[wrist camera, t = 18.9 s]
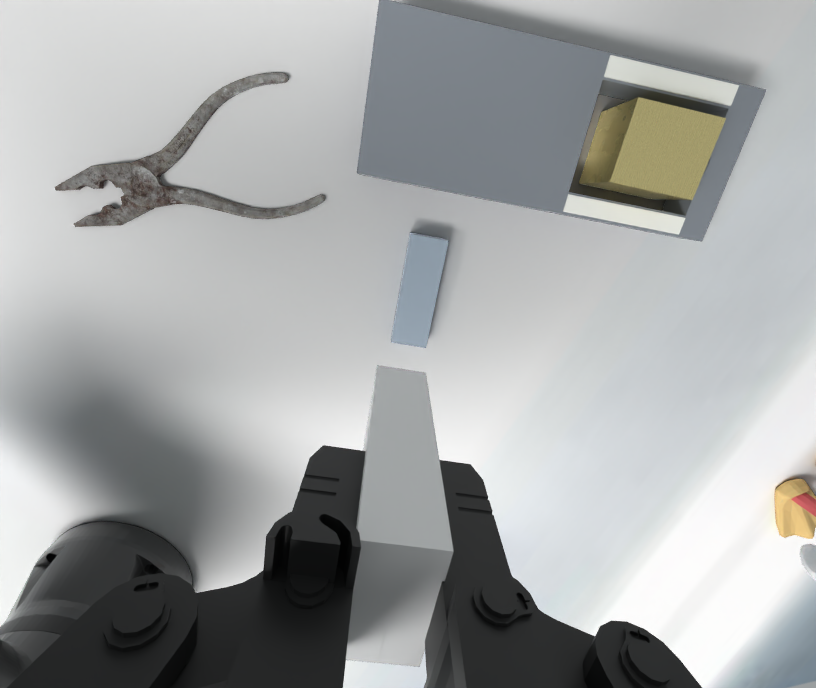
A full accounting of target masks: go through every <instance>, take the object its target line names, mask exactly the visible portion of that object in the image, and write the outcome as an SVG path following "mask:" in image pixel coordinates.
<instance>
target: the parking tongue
mask: <svg viewBox="0 0 816 688" xmlns="http://www.w3.org/2000/svg"><path fill="white" fill-rule="evenodd" d="M448 242H449V241H448V240H447V239H444V238H438V237H433V236H428V235H422V234H417V233H412V232H410V236H409V241H408V247H407V253H406V258H405V264H404V269H403V275H402V280H401V286H400V291H399V297H398V303H397V308H396V314H395V319H394V325H393V330H392V336H391V342H393V343H399V344H405V345H411V346H417V347H423V348H426V345H427V341H428V336H429V331H430V327H431V322H432V317H433V313H434V308H435V303H436V299H437V294H438V289H439V285H440V280H441V275H442V271H443V266H444V261H445V257H446V252H447V247H448Z"/></svg>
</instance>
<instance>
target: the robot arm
mask: <svg viewBox="0 0 816 688" xmlns="http://www.w3.org/2000/svg"><path fill="white" fill-rule="evenodd" d="M424 651H425V654H426V670H427V680H426V683H425V686H424V688H702V687H701V686H700V685H699V683H698V682H697V681H696V680H695V678H694V677H693V676H692V675H691V673H690V672H689V671H688V670H687V668H686V667H685V666H684V665H683V663H682V662H681V661H680V660H679V658H678V657H677V656H676V655H675V654H674V653H673V652H672V651H671V650H670V649H669V648H668V647H667V646H666V645H665V644H664V643H663V642H662V641H660V640H659V639H658V638H656V637H655V636H653V635H652V634H651V633H649V632H648V631H646V630H645V629H643V628H640V627H638V626H636V625H633V624H631V623H628V622H622V621H610V622H608V623H606V624H604V625H602V626H600V628H599V630H598V632H597V634H596V636H592V635H590V634H588V633H585V632H583V631H581V630H578V629H576V628H574V627H571V626H569V625H567V624H564V623H562V622H560V621H557V620H555V619H553V618H552V617H550V616H548V615H546V614H544V613H543V612H541V611H540V610H539V609H538V608H537V606H536V604H535V602H534V600H533V598H532V596H531V595H530V593H529V592H528V591H527V590H526V589H525V588H524V587H523V586H522V584H521V583H520V582H519V581H518V580H516V579H515V578H513V577H512V575H511V573H510V569H509V566H508V563H507V559H506V556H505V553H504V549H503V546H502V542H501V539H500V536H499V532H498V529H497V526H496V522H495V519H494V516H493V515H492V509H491V505H490V502H489V500H488V495H487V492H486V489H485V485H484V482H483V479H482V478H481V477H480V476H479V474H478V473H477V472H476V471H475V470H474V468H473V467H472V466H471V465H470V464H464V463H457V462H450V461H442V460H439V455H438V448H437V442H436V436H435V429H434V423H433V416H432V410H431V404H430V397H429V391H428V384H427V378H426V373H424V372H417V371H411V370H405V369H398V368H392V367H386V366H379V365H377V369H376V375H375V381H374V387H373V393H372V399H371V405H370V410H369V416H368V422H367V428H366V434H365V440H364V447H363V451H360V450H353V449H346V448H338V447H331V446H324V445H323V446H322V447H321V448H320V449H319V450H318V451H317V452H316V453H315V454H314V455H312V456H311V457H310V459H309V462H308V465H307V468H306V471H305V474H304V477H303V480H302V483H301V486H300V491H299V492H298V495H297V498H296V501H295V505H294V508H293V511H292V512H290V513H288V514H287V515H285V516H284V517H282V518H281V519H280V520H278V521H277V522H275V524H274V525H273V527H272V528H271V530H270V531H269V533H268V534H267V536H266V546H265V559H264V570H263V571H262V572H261V573H259V574H258V575H257V576H255V577H253V578H251V579H249V580H247V581H245V582H243V583H240V584H237V585H233V586H230V587H226V588H221V589H215V590H210V591H205V592H200V593H195V591H194V589H193V587H192V575H191V572H190V569H189V567H188V565H187V563H186V561H185V560H184V558H183V557H182V556H181V554H180V553H179V552H178V551H177V550H176V549H175V548H174V547H173V546H172V545H171V544H169V543H168V542H167V541H165V540H164V539H162V538H161V537H159V536H157V535H155V534H153V533H151V532H149V531H147V530H145V529H142V528H139V527H136V526H132V525H129V524H124V523H117V522H94V523H88V524H83V525H80V526H77V527H74V528H72V529H70V530H68V531H67V532H65V533H64V534H62V535H61V536H60V537H59V538H58V539H57V540H56V541H55V542H54V543H53V544H52V545H51V546H50V547H49V548H48V549H47V550H46V551H45V552H44V553H43V554H42V556H41V557H40V558H39V560H38V561H37V563H36V564H35V566H34V568H33V570H32V572H31V574H30V576H29V578H28V580H27V582H26V583H25V585H24V587H23V589H22V591H21V593H20V595H19V597H18V599H17V601H16V603H15V605H14V606H13V608H12V610H11V612H10V614H9V616H8V618H7V620H6V621H5V622H4V624H3V625H2V626H1V627H0V688H343V680H344V670H345V661H346V660H351V661H361V662H372V663H383V664H393V665H404V666H414V667H420V664H421V661H422V657H423V654H424Z"/></svg>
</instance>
